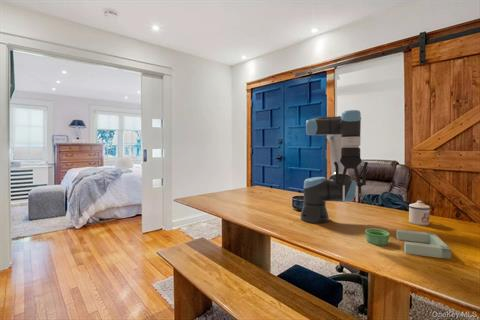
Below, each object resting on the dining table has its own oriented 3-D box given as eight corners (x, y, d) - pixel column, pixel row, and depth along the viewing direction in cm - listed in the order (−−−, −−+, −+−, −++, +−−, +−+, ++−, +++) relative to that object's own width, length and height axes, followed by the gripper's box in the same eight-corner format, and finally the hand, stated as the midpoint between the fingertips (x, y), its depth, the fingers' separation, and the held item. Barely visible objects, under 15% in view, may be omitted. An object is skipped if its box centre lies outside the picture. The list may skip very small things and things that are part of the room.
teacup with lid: (425, 226, 124) (425, 203, 123) (405, 222, 131) (405, 200, 131) (435, 222, 130) (436, 200, 130) (415, 218, 138) (416, 197, 137)
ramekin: (389, 248, 99) (389, 237, 99) (364, 243, 104) (364, 233, 103) (389, 240, 106) (389, 230, 106) (366, 237, 111) (366, 227, 111)
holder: (405, 253, 93) (405, 244, 93) (396, 237, 110) (396, 229, 110) (450, 259, 88) (451, 249, 88) (433, 241, 105) (434, 233, 105)
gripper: (328, 147, 107) (328, 201, 108) (374, 146, 100) (374, 204, 101) (329, 147, 114) (329, 197, 115) (372, 146, 107) (372, 200, 108)
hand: (350, 200), depth 108 cm, fingers open, 4 cm apart
